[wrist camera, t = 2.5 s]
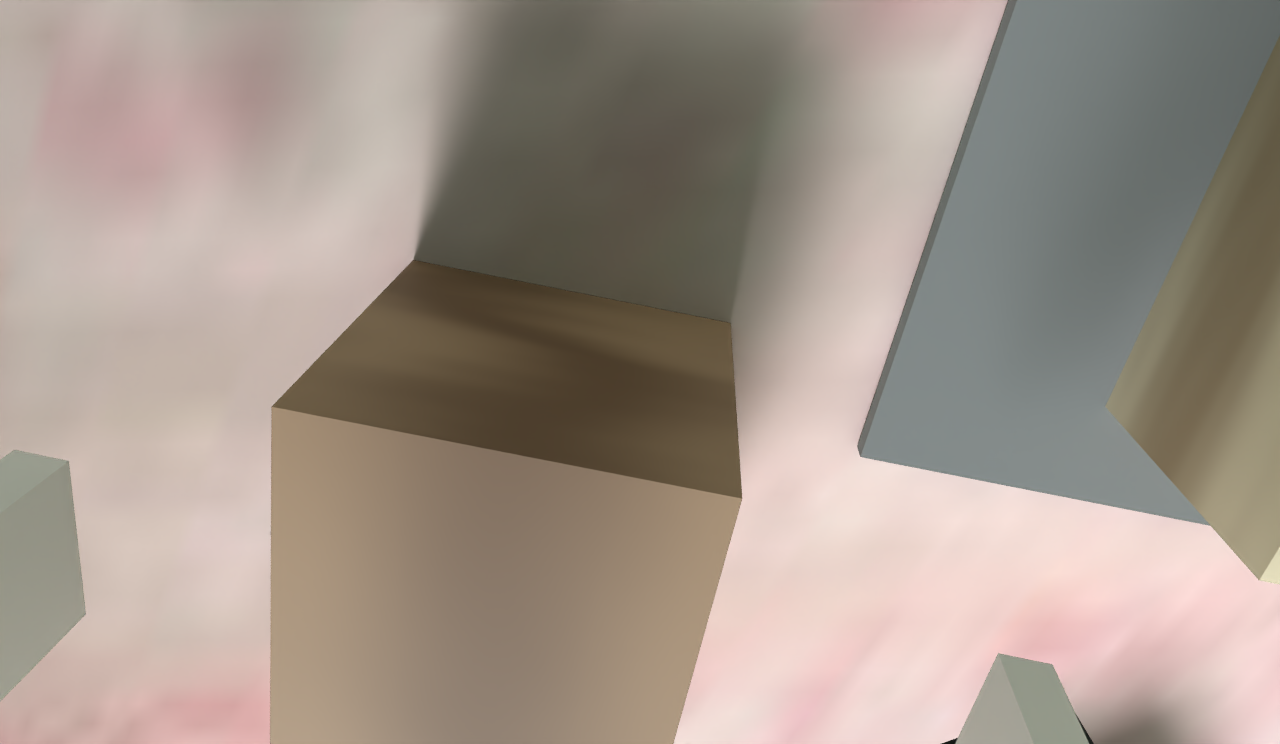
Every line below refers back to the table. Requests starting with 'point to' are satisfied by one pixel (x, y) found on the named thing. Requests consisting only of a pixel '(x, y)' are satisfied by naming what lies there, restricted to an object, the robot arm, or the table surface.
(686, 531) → the walnut cube
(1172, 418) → the plinth
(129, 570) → the table surface
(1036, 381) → the mat
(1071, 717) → the robot arm
